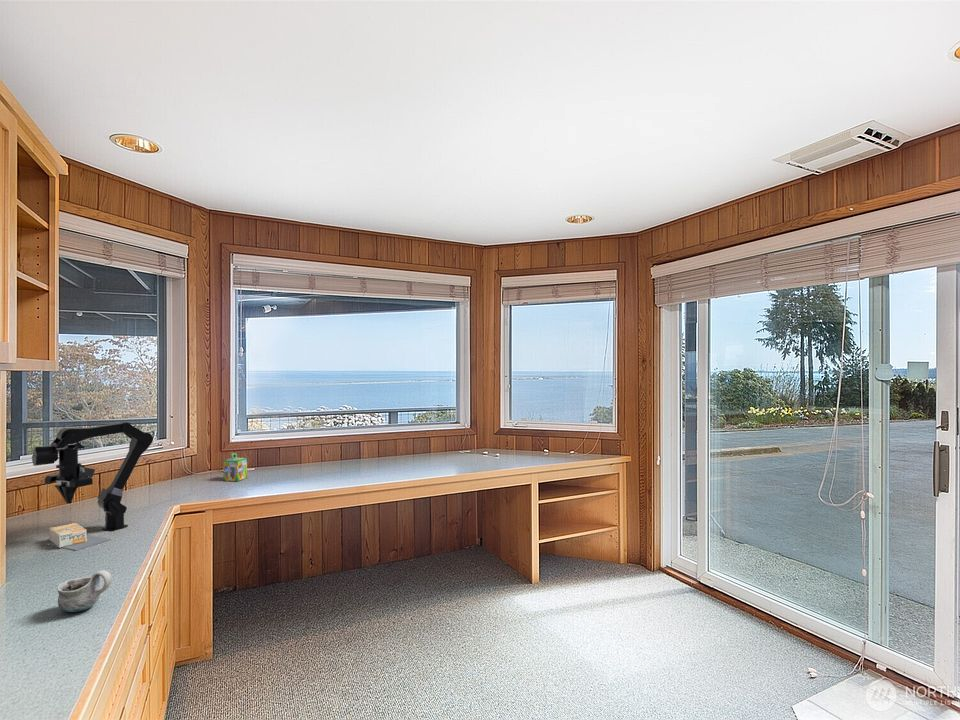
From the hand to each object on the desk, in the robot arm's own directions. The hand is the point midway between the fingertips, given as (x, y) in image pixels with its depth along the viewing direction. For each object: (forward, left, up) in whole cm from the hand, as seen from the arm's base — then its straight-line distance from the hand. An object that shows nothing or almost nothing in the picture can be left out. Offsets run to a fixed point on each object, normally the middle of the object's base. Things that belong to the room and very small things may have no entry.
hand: (68, 503), depth 203 cm
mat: (-9, +2, -13) cm, 16 cm away
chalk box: (+20, -96, -13) cm, 99 cm away
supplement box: (+2, +1, -10) cm, 10 cm away
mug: (-66, +34, -13) cm, 76 cm away
